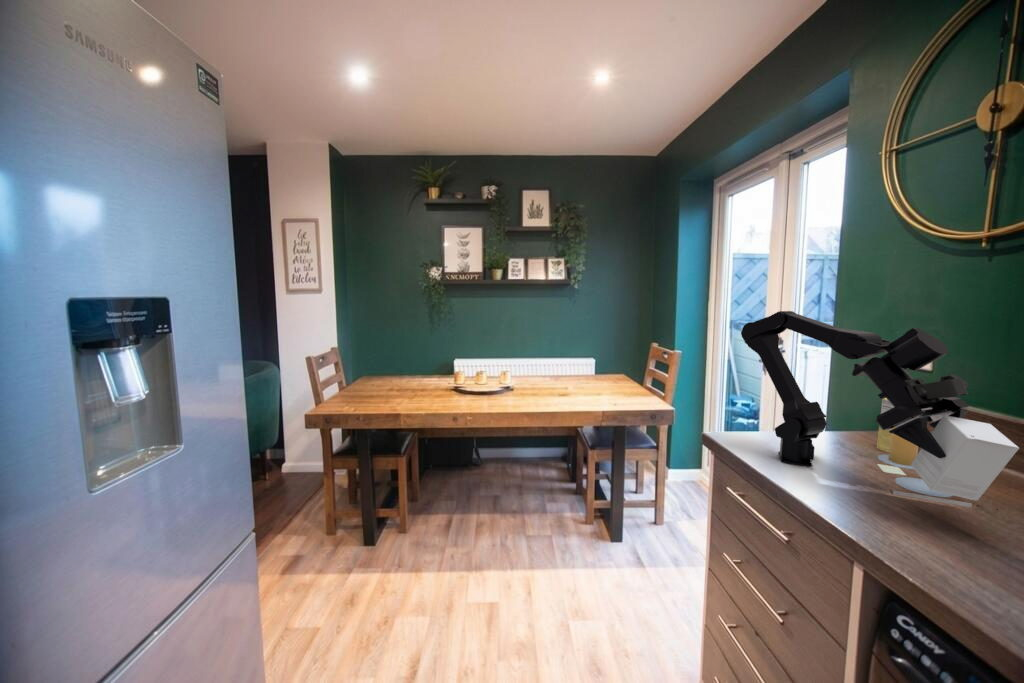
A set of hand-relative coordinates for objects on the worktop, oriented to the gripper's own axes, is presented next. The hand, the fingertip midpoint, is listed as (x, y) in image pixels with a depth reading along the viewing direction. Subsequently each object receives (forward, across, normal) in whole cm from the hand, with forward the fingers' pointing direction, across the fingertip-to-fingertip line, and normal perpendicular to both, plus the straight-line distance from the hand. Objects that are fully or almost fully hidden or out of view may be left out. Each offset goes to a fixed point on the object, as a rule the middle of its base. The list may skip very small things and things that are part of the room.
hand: (958, 454), depth 75 cm
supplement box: (+4, 0, +6) cm, 7 cm away
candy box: (-6, +30, +26) cm, 40 cm away
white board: (0, +15, +19) cm, 25 cm away
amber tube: (-4, +21, +21) cm, 30 cm away
